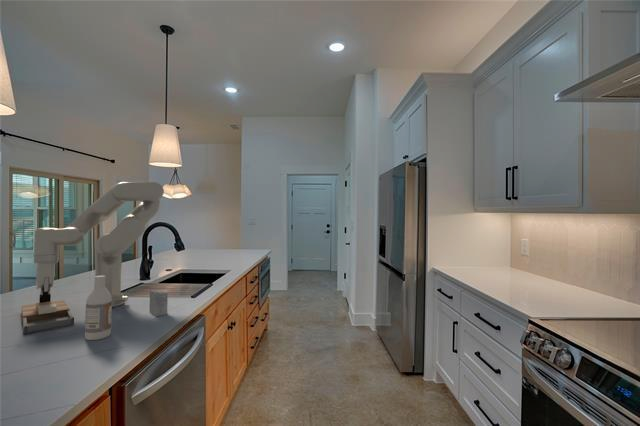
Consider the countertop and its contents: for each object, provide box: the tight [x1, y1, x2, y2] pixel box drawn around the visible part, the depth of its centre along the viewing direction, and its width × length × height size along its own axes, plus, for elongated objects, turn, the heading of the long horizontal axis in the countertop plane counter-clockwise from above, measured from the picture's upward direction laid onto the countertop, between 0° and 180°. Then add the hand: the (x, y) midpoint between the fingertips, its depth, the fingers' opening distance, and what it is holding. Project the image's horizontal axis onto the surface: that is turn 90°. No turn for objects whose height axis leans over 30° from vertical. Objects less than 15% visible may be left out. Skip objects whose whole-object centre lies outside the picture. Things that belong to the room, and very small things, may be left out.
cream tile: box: [38, 304, 57, 315], centre depth 115 cm, size 5×5×2 cm
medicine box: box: [148, 289, 169, 317], centre depth 125 cm, size 8×4×9 cm, turn 47°
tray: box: [22, 310, 75, 335], centre depth 109 cm, size 12×13×2 cm
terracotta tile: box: [35, 300, 54, 312], centre depth 118 cm, size 5×5×2 cm
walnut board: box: [21, 299, 71, 324], centre depth 119 cm, size 16×13×3 cm
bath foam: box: [84, 275, 113, 341], centre depth 100 cm, size 7×7×20 cm
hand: (44, 304), depth 121 cm, fingers closed
